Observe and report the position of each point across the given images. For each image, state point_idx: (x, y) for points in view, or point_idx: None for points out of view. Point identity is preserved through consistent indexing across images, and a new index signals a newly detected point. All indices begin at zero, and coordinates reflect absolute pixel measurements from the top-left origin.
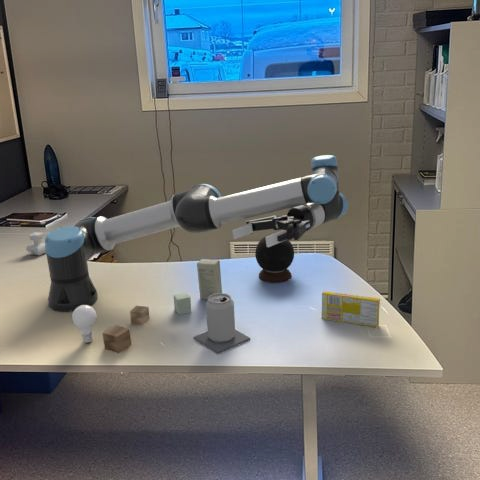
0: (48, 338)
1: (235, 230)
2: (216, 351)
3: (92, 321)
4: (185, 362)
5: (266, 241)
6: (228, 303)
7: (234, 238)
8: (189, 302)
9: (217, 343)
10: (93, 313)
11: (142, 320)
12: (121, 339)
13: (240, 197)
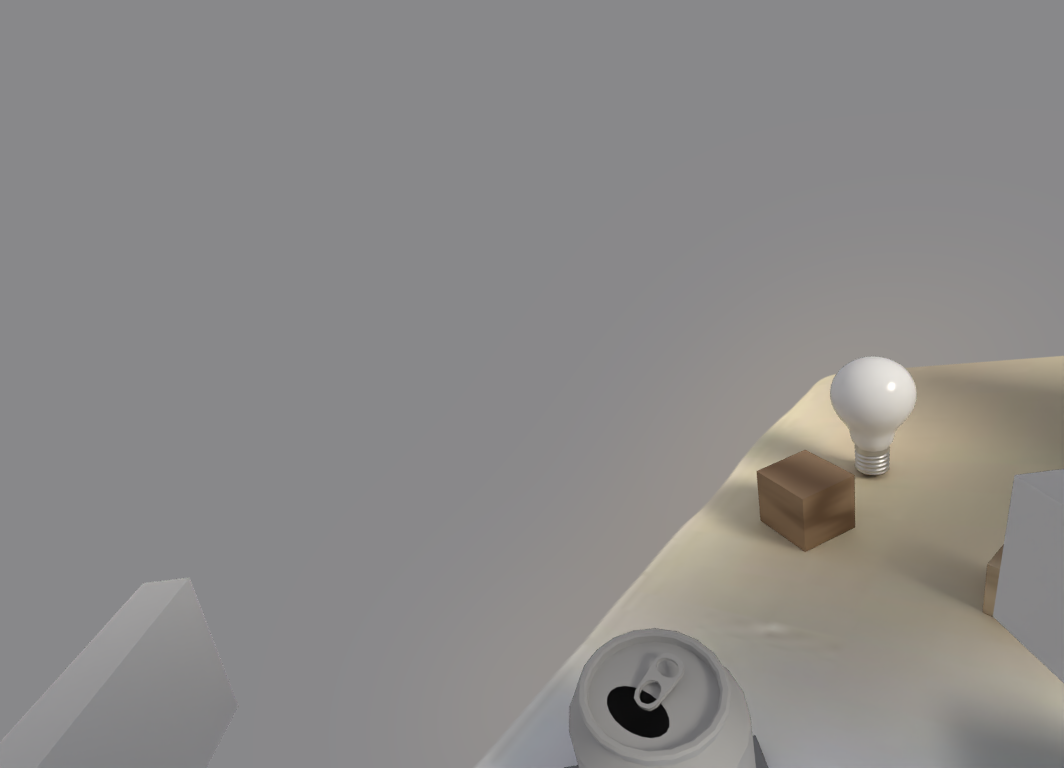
0: (931, 415)
1: (1043, 512)
2: (573, 766)
3: (841, 412)
4: (591, 651)
5: (196, 637)
6: (583, 724)
7: (1009, 605)
8: None
9: None
10: (853, 394)
11: (986, 593)
12: (771, 495)
13: None
